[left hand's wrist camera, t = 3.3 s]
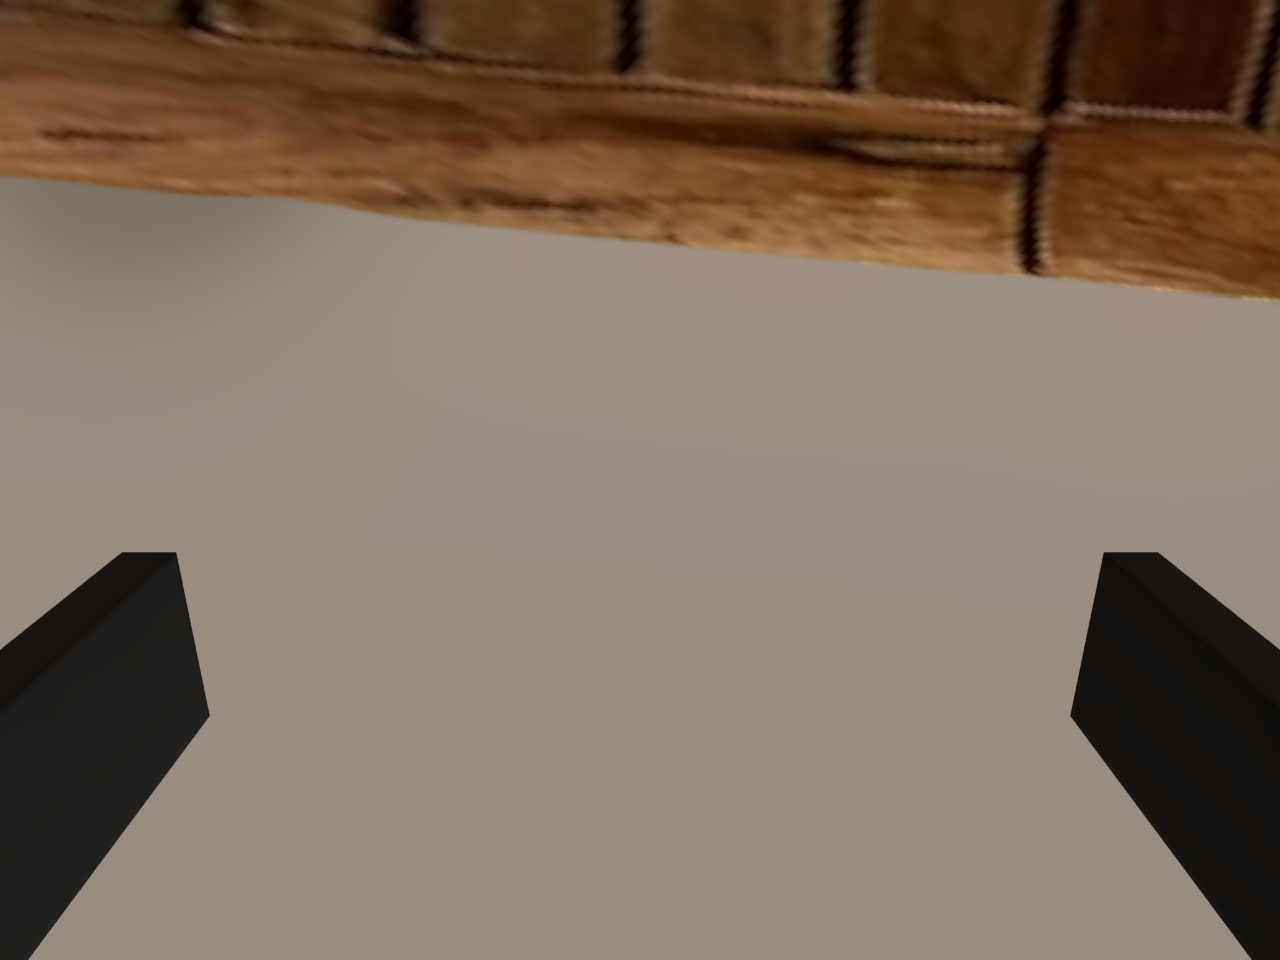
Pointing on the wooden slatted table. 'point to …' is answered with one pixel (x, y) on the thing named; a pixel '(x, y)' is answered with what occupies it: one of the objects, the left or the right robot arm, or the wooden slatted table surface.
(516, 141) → the wooden slatted table surface
